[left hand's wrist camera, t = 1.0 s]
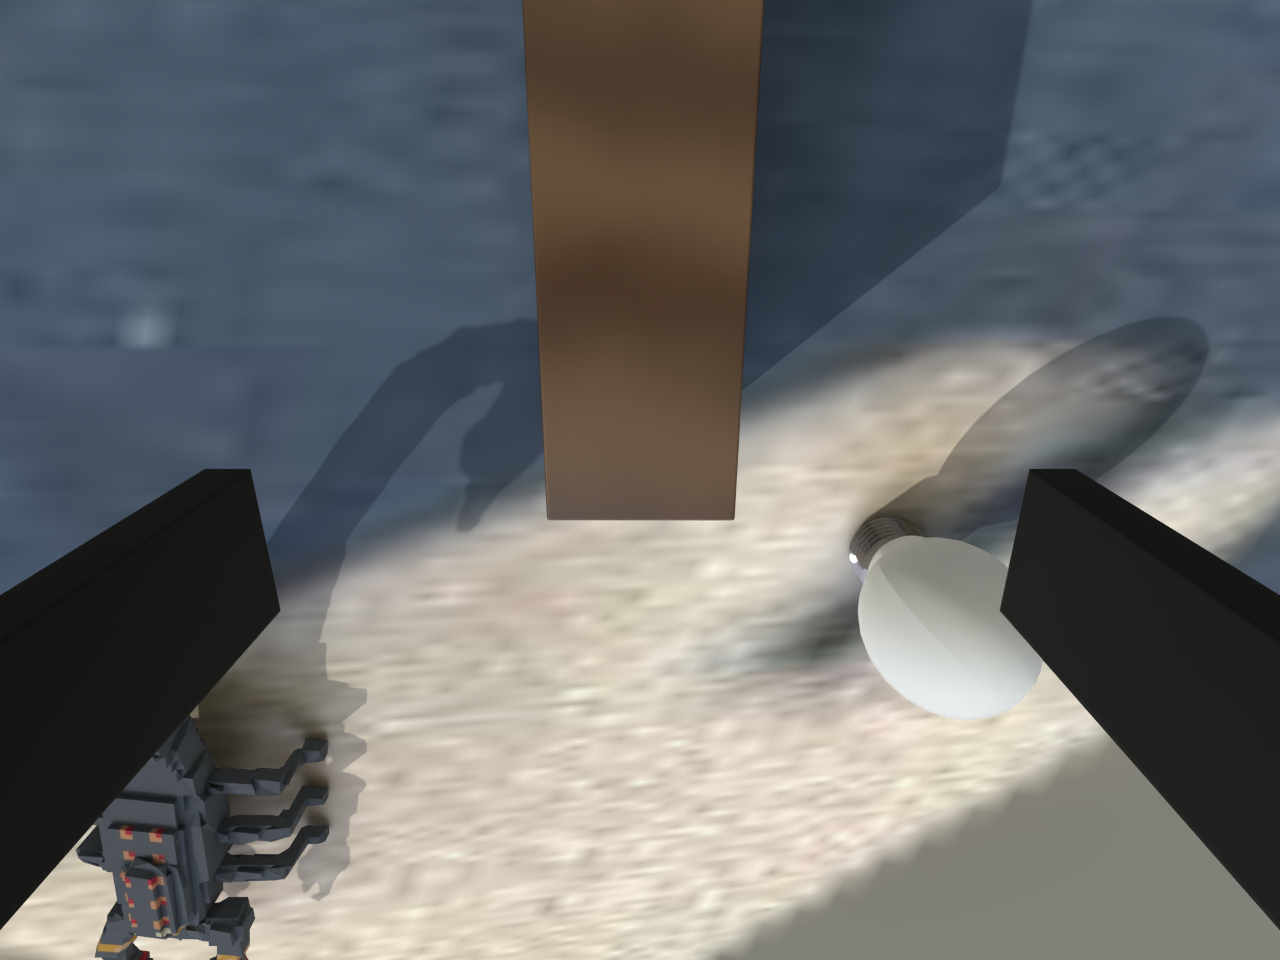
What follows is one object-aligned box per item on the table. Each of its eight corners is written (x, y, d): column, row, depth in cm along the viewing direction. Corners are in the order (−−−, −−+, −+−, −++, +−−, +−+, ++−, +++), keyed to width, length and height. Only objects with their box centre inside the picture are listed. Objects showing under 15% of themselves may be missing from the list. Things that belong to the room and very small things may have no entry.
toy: (324, 603, 37) (55, 952, 20) (331, 955, 46) (155, 1393, 29) (55, 571, 36) (-467, 906, 19) (119, 935, 46) (-188, 1374, 29)
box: (703, 421, 34) (734, 521, 23) (574, 421, 33) (546, 520, 23) (730, -271, 24) (800, -615, 14) (552, -272, 24) (492, -619, 14)
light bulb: (796, 561, 36) (860, 704, 26) (891, 461, 34) (1001, 574, 24) (891, 630, 38) (987, 791, 27) (987, 538, 36) (1129, 675, 25)
